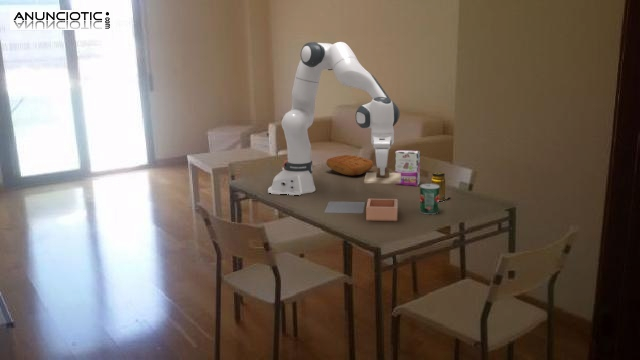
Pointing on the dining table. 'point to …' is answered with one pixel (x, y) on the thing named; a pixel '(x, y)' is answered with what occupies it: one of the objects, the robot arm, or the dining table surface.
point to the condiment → (439, 183)
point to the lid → (382, 177)
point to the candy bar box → (408, 167)
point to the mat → (345, 207)
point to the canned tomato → (429, 198)
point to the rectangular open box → (381, 210)
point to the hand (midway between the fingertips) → (382, 173)
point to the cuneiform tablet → (349, 164)
